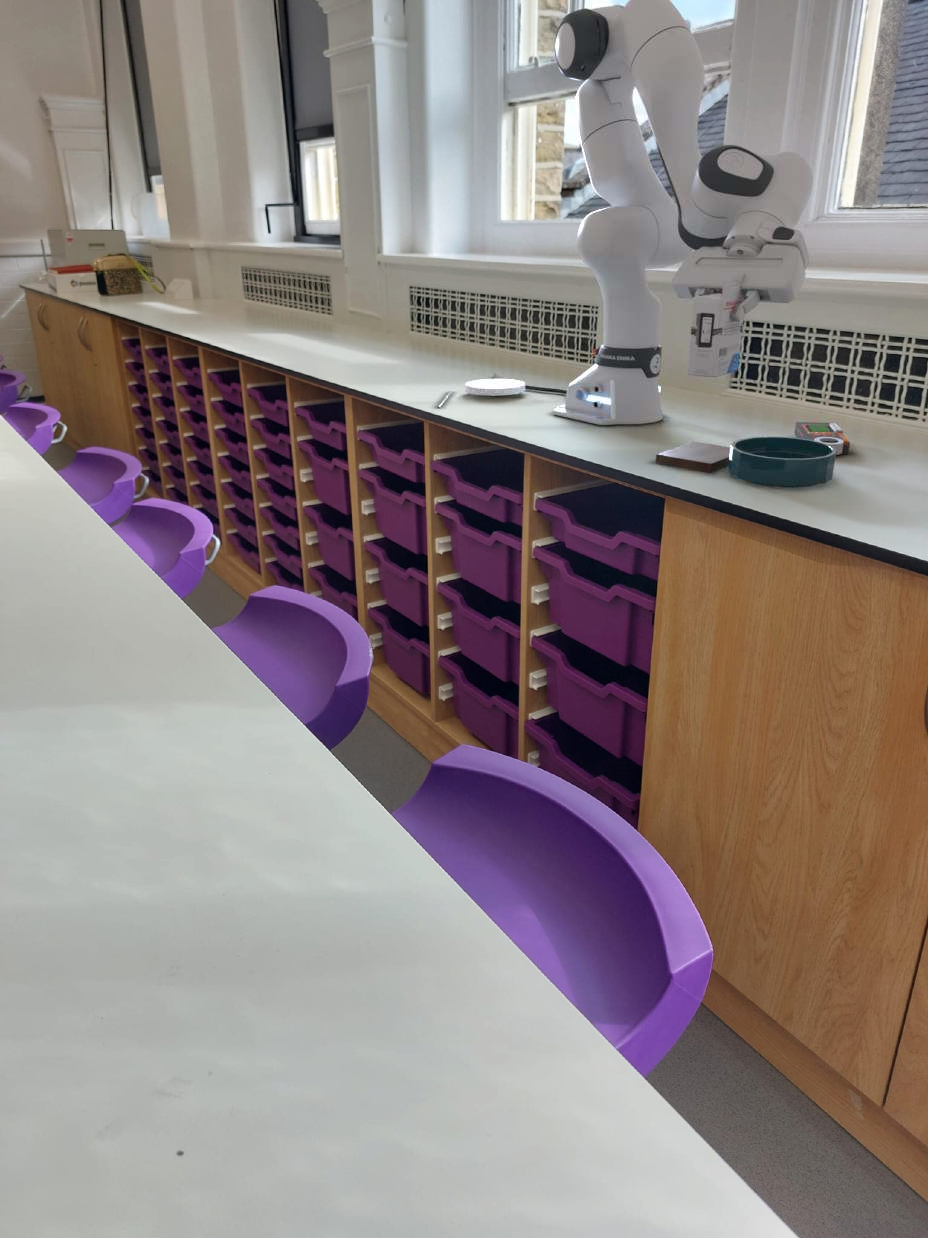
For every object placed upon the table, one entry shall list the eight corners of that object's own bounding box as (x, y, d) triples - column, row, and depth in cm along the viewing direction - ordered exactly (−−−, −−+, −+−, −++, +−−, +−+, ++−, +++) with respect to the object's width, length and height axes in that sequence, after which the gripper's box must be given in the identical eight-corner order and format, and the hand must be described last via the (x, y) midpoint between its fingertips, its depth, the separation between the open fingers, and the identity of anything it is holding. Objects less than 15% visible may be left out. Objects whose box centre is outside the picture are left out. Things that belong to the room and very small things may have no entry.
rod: (436, 409, 191) (436, 406, 191) (448, 394, 208) (448, 391, 208) (440, 409, 191) (439, 406, 191) (451, 394, 208) (451, 391, 208)
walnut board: (655, 463, 144) (656, 454, 144) (692, 449, 152) (693, 441, 152) (710, 473, 138) (711, 463, 137) (745, 458, 146) (747, 449, 145)
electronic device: (812, 442, 145) (796, 419, 159) (809, 459, 147) (793, 435, 160) (855, 443, 144) (835, 420, 158) (852, 460, 146) (832, 436, 159)
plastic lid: (475, 401, 197) (475, 390, 196) (458, 391, 209) (458, 380, 208) (533, 397, 201) (534, 386, 199) (513, 387, 213) (513, 377, 212)
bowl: (710, 477, 135) (713, 449, 133) (755, 459, 145) (758, 432, 144) (806, 495, 126) (810, 464, 124) (847, 474, 136) (852, 445, 134)
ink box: (710, 368, 143) (719, 271, 137) (739, 370, 140) (749, 272, 134) (685, 374, 137) (694, 274, 131) (715, 377, 134) (725, 275, 128)
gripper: (688, 232, 142) (651, 300, 139) (812, 231, 129) (773, 306, 126) (699, 260, 146) (663, 327, 144) (820, 262, 134) (783, 335, 131)
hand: (716, 317), depth 135 cm, fingers closed on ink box, 5 cm apart
